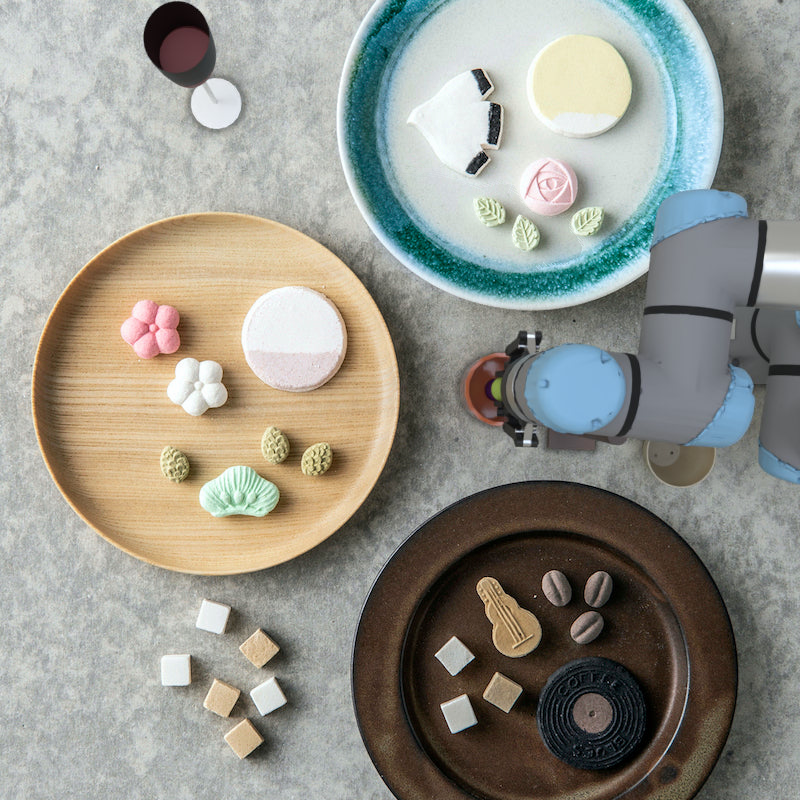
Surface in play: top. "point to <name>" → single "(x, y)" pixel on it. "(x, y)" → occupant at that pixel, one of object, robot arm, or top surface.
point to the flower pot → (678, 463)
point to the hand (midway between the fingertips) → (504, 389)
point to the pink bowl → (482, 388)
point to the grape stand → (579, 440)
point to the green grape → (496, 389)
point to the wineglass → (191, 61)
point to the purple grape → (488, 390)
